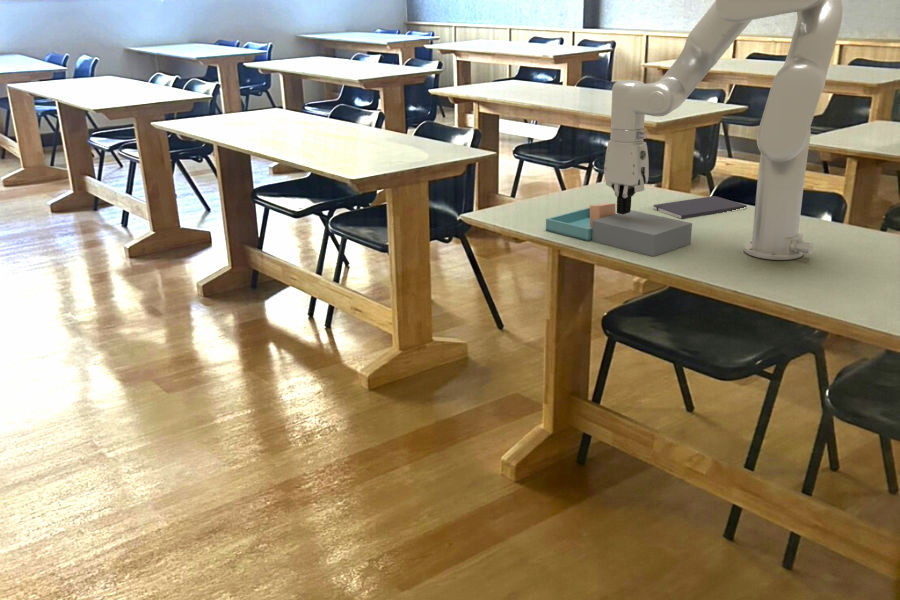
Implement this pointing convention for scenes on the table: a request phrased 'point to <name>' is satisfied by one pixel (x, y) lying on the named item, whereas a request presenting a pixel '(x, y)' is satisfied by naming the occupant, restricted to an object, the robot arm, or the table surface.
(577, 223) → the tray
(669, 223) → the slate bench plate
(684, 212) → the notebook
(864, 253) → the table surface
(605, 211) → the terracotta block
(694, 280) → the table surface
